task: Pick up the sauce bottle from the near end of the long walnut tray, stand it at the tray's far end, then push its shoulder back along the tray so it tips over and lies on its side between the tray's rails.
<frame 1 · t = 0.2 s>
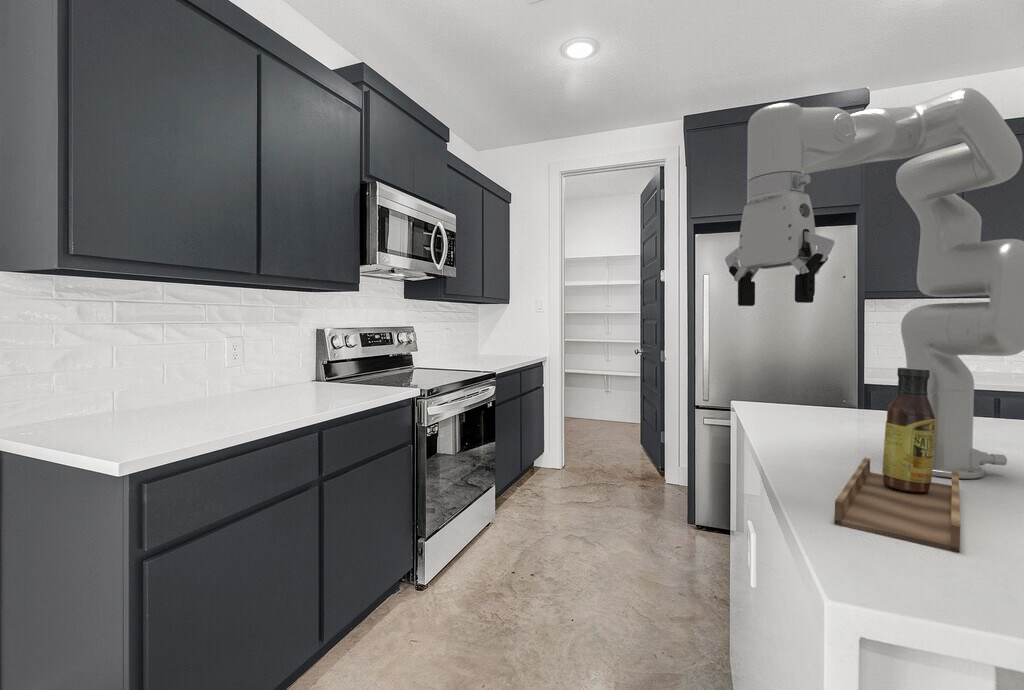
hand: (773, 304, 73), 31 cm above the counter, tool pointing down, fingers open, 9 cm apart
sauce bottle: (905, 489, 78), resting on tray
tray: (902, 505, 72), on the counter
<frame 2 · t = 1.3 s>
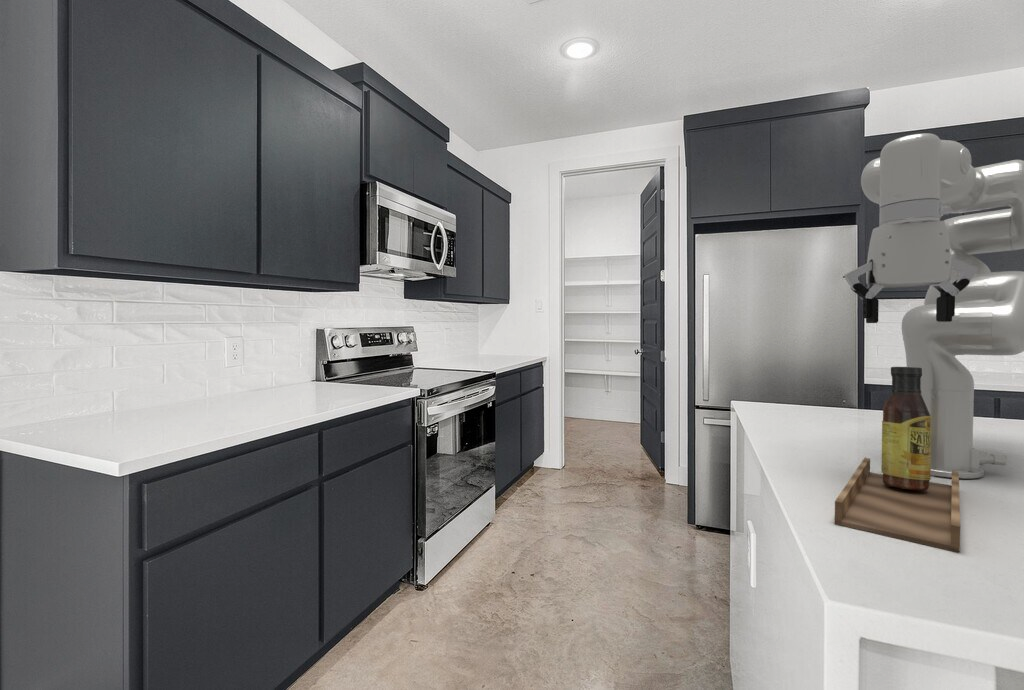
hand: (907, 322, 77), 28 cm above the counter, tool pointing down, fingers open, 9 cm apart
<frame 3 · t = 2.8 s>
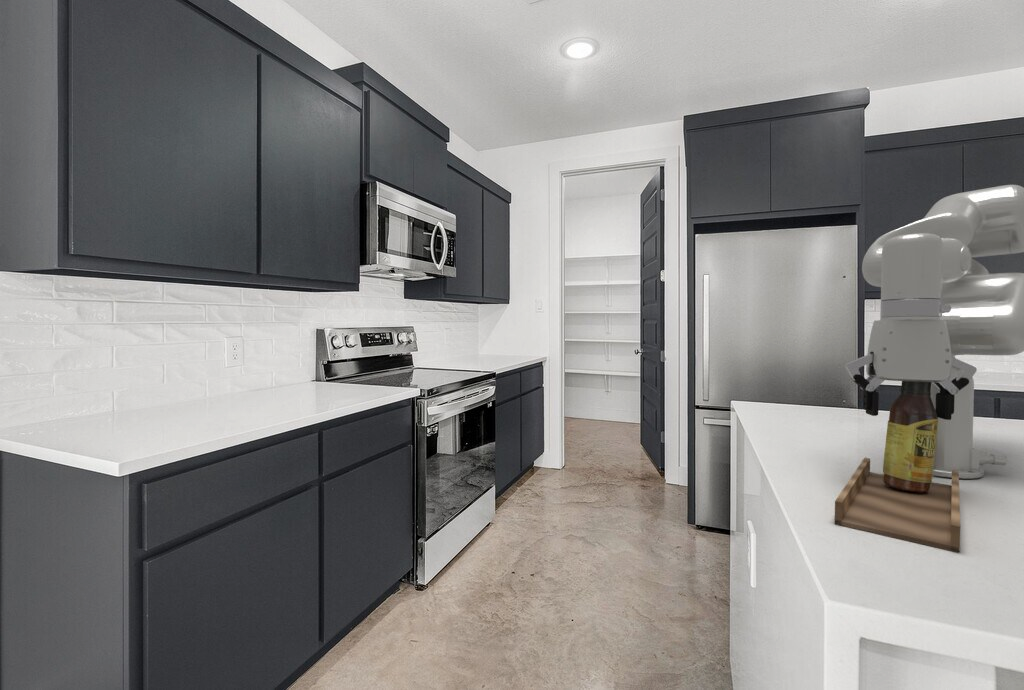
hand: (906, 416, 77), 13 cm above the counter, tool pointing down, fingers open, 9 cm apart
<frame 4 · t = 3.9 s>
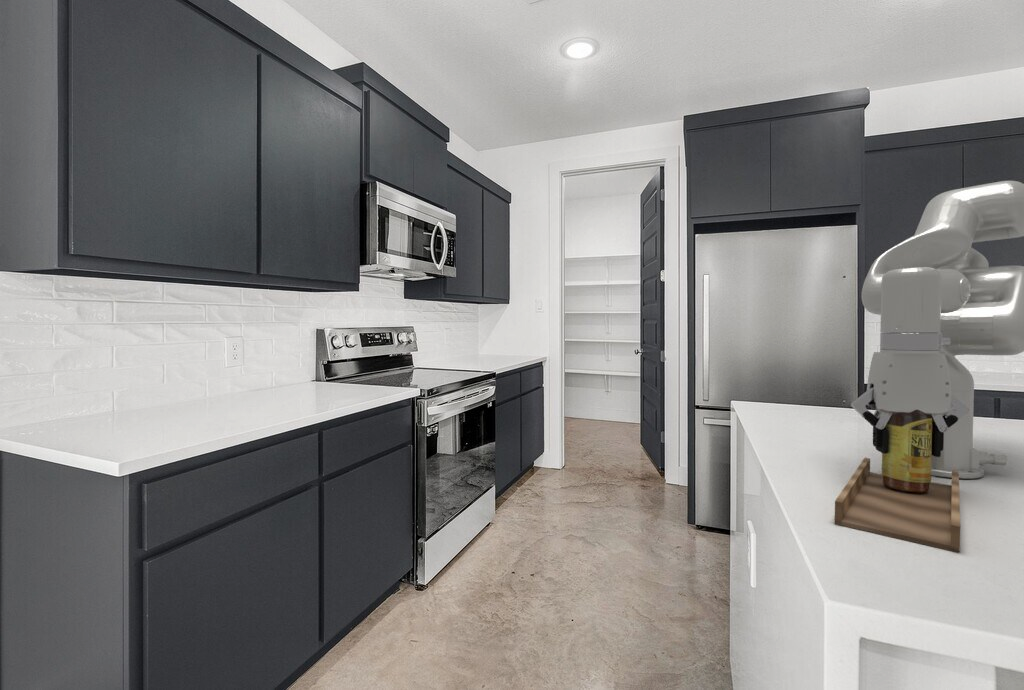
hand: (906, 452, 78), 7 cm above the counter, tool pointing down, fingers closed on sauce bottle, 6 cm apart
sauce bottle: (905, 489, 78), resting on tray, touching gripper
when the fingers open (8 cm above the counter, at t = 11.1 s): sauce bottle drops 2 cm, resting on tray.
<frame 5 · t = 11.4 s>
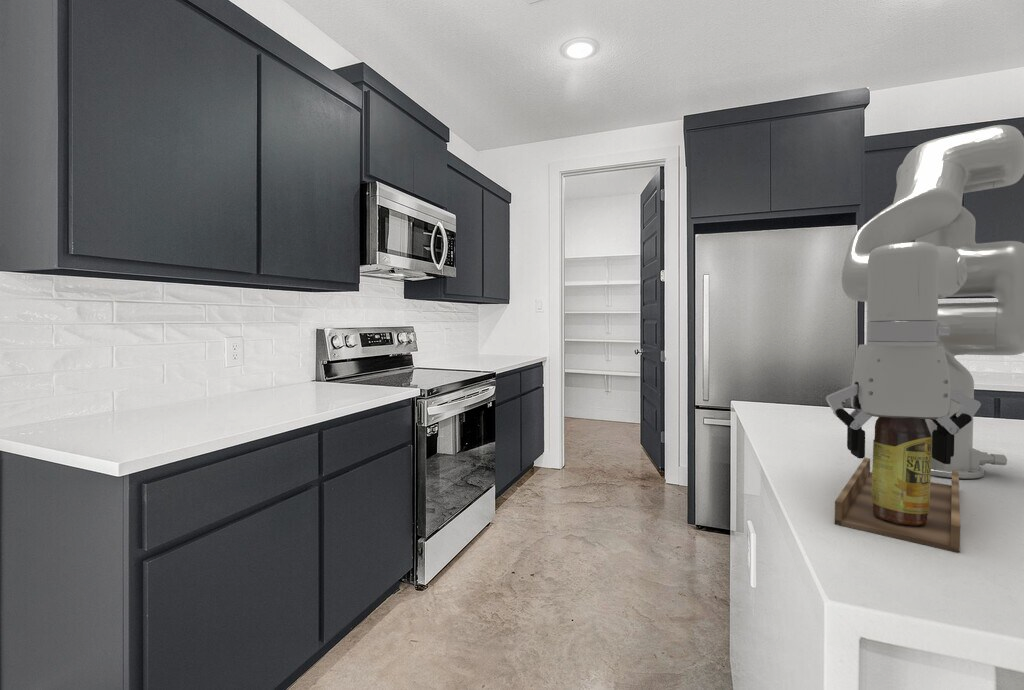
hand: (898, 458, 65), 9 cm above the counter, tool pointing down, fingers open, 9 cm apart
sauce bottle: (899, 520, 66), resting on tray
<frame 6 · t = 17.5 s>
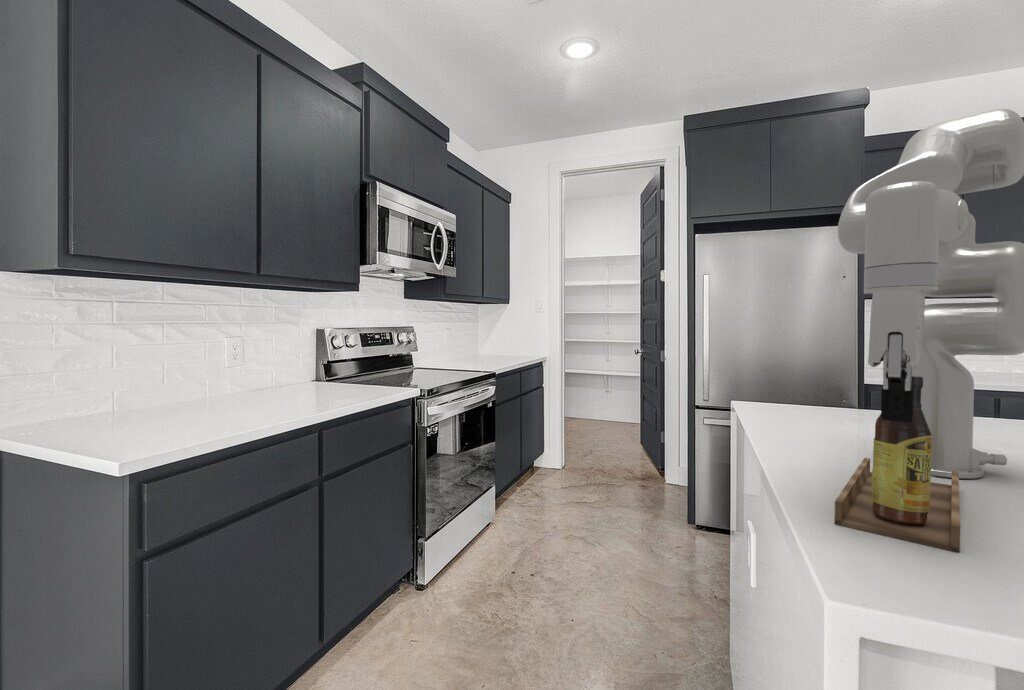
hand: (896, 419, 63), 15 cm above the counter, tool pointing down, fingers closed
nothing on the counter moved.
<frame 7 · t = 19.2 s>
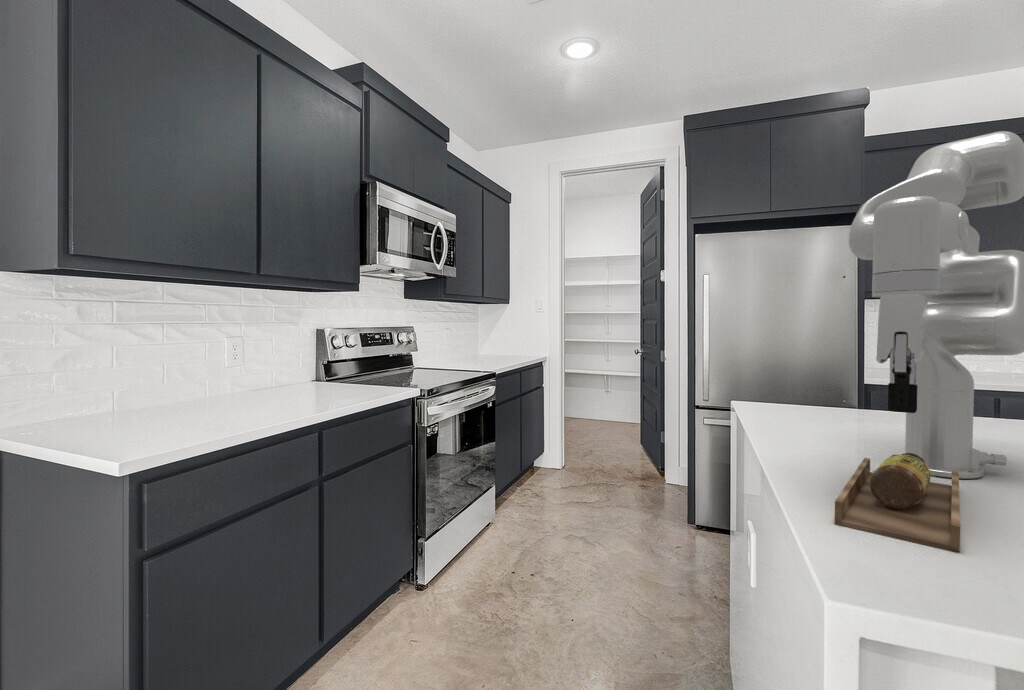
hand: (902, 411, 69), 15 cm above the counter, tool pointing down, fingers closed
sauce bottle: (895, 491, 68), point 4 cm above the counter, touching tray
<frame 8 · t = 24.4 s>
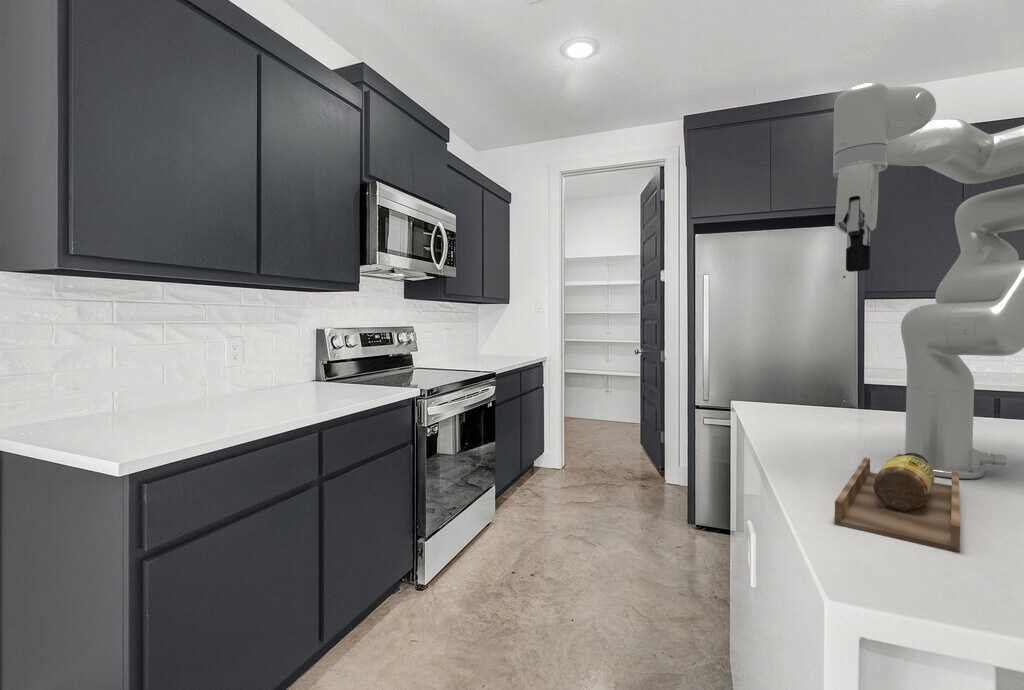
hand: (857, 270, 81), 37 cm above the counter, tool pointing down, fingers closed
nothing on the counter moved.
at the end: sauce bottle tilted 88°; sauce bottle inside the target area (3.6 cm from its centre), point 3.5 cm above the counter; sauce bottle 6.1 cm from the tray (horizontally) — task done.
